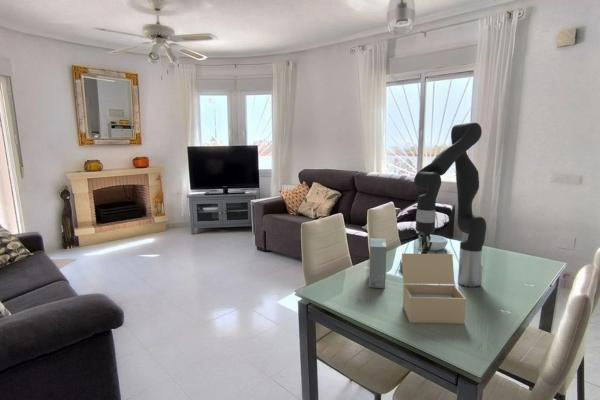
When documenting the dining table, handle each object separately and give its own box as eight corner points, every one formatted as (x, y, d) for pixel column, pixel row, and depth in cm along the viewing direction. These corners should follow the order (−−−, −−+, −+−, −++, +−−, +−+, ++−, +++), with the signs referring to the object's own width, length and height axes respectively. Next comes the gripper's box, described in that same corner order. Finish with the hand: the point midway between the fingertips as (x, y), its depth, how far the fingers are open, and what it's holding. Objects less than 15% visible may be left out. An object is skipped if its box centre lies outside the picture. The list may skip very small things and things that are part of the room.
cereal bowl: (420, 252, 209) (421, 241, 208) (416, 244, 225) (416, 234, 224) (450, 253, 206) (450, 242, 205) (443, 245, 222) (444, 235, 221)
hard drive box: (385, 288, 158) (386, 247, 154) (368, 287, 159) (369, 246, 156) (384, 276, 173) (385, 238, 169) (368, 275, 174) (369, 237, 171)
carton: (453, 308, 138) (454, 285, 136) (464, 324, 126) (466, 298, 125) (402, 307, 140) (403, 284, 138) (409, 322, 128) (410, 297, 126)
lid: (454, 284, 136) (453, 284, 137) (452, 254, 139) (451, 254, 140) (403, 283, 138) (403, 283, 139) (402, 253, 140) (401, 253, 141)
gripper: (439, 223, 135) (437, 265, 137) (430, 216, 148) (428, 255, 150) (420, 223, 135) (418, 265, 138) (412, 216, 148) (411, 254, 151)
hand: (423, 259), depth 144 cm, fingers closed
